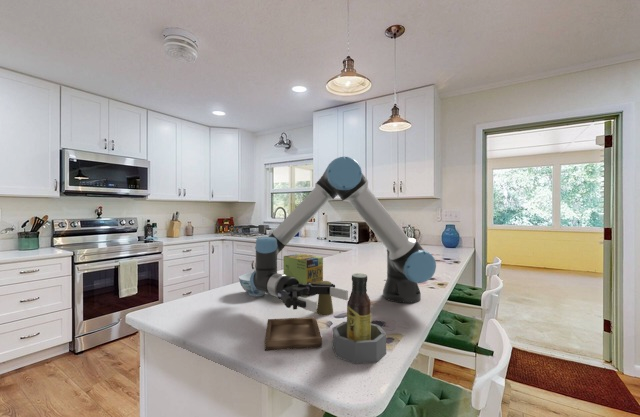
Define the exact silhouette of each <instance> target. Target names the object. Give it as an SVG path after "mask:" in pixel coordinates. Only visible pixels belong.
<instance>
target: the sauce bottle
mask: <svg viewBox="0 0 640 417" xmlns="http://www.w3.org/2000/svg"><path fill="white" fill-rule="evenodd" d="M351 282H352V283H351V287H352V288H351V291H350V292H351V293H350V294H349V295H350V296H349V297H348V300H347V305H346V306H347V307H346V322H347V338H348V339H351V340H354V341H365V340H371V323H372V311H371V308H372V306H371V304H372V301H371V299H370V296H369V294H368V293H367V290H368V289H367V283H368V275H367V274H365V273H352V275H351Z"/></svg>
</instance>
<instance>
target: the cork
mask: <svg viewBox="0 0 640 417" xmlns="http://www.w3.org/2000/svg"><path fill="white" fill-rule="evenodd" d="M319 283H320V284H333V283H332V282H331V281H328V280H323V281H321V282H319ZM332 300H333V299H332V296H330V295H328V294H318V299H317V312H316V314H317V315H320V316H330V315H333V314H334V306H333V301H332Z"/></svg>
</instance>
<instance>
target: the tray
mask: <svg viewBox="0 0 640 417" xmlns="http://www.w3.org/2000/svg"><path fill="white" fill-rule="evenodd" d="M266 322H267V323H266V330H265V331H266V332H265V337H264V351H265V352H269V351H284V350H285V351H287V350H301V349H303V350H304V349H318V348H322V347H323V346H322V345H323V339H322V334H321V330H320V328H319V324H318V320H317V317H316V316H309V317H308V316H307V317H289V318H287V317H286V318H284V317H283V318H267V321H266Z"/></svg>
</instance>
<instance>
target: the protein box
mask: <svg viewBox="0 0 640 417" xmlns="http://www.w3.org/2000/svg"><path fill="white" fill-rule="evenodd" d="M282 271H283V273H282V274H283V275H287V276H291V277H294V278H296V279H297V280H298V282H299V283H303V284H307V282H311V283H319V282H321V281H324V257H323V256H317V255H313V254H312V255H311V254H304V253H295V254H289V255H283V270H282ZM308 293H309V290H308ZM314 295H316V294H312V295H311V296H314ZM308 297H309V296H304V298H308Z"/></svg>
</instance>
